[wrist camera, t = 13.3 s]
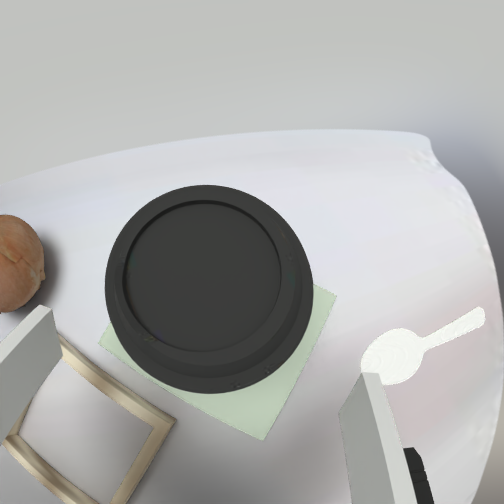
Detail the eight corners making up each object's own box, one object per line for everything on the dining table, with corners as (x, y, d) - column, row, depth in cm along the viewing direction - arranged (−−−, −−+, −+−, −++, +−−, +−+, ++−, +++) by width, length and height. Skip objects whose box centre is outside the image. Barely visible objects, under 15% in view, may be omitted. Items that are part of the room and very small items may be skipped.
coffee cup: (245, 257, 27) (263, 136, 13) (291, 352, 24) (373, 327, 10) (148, 296, 25) (66, 210, 11) (189, 396, 22) (133, 435, 8)
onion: (29, 261, 29) (-13, 195, 22) (77, 265, 27) (28, 184, 20) (-10, 324, 22) (-66, 259, 16) (32, 344, 20) (-42, 265, 13)
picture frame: (9, 434, 19) (-5, 436, 16) (55, 331, 24) (42, 327, 21) (115, 521, 17) (106, 531, 15) (176, 419, 22) (170, 424, 20)
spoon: (487, 335, 26) (490, 334, 26) (365, 396, 24) (367, 397, 23) (476, 293, 28) (479, 292, 28) (352, 342, 26) (354, 342, 25)
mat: (102, 344, 24) (97, 343, 23) (181, 219, 29) (180, 214, 28) (261, 438, 22) (262, 441, 21) (333, 298, 27) (336, 295, 26)
